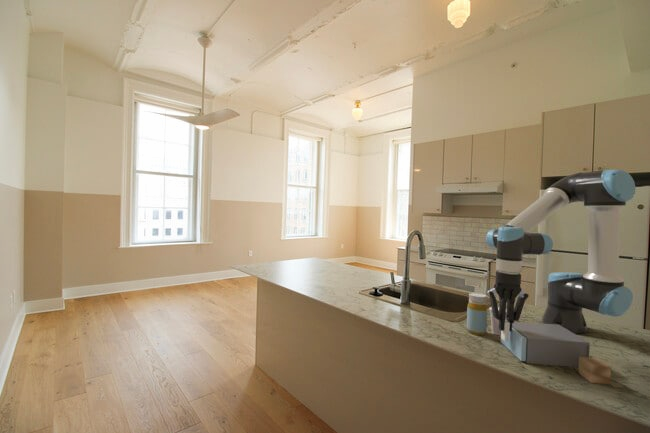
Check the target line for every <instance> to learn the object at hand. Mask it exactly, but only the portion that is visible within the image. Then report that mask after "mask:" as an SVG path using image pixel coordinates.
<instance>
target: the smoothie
mask: <svg viewBox="0 0 650 433" xmlns="http://www.w3.org/2000/svg"><path fill="white" fill-rule="evenodd" d="M498 310H499V306H498ZM489 313H490V322H491V333H492V334H493V335H495V336H501V330H500V329H499V320H498V319H496V318H495V317H494V316H493V312H492V307H491V306H490V307H489ZM506 313H507V309H506Z"/></svg>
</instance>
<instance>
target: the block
mask: <svg viewBox="0 0 650 433" xmlns="http://www.w3.org/2000/svg"><path fill="white" fill-rule="evenodd" d="M577 372H578V374H579V375H580V376H582V377H583V378H584V379H586V380H587V381H588V382H589V383H593V384H602V385H603V384H604V385H611V376H612V375H611V374H612V366H611V365H609V364H607V363H606V362H605V361H603V360H602V359H599V358H597V357H589V358H588V357H579V367H578V371H577Z"/></svg>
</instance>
